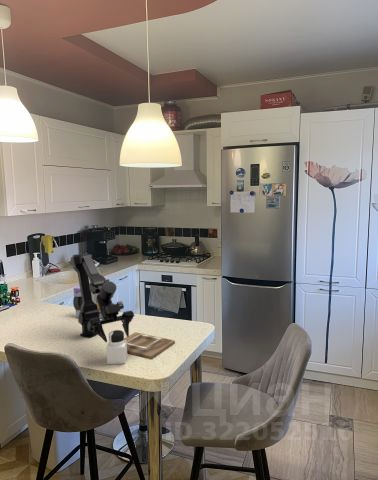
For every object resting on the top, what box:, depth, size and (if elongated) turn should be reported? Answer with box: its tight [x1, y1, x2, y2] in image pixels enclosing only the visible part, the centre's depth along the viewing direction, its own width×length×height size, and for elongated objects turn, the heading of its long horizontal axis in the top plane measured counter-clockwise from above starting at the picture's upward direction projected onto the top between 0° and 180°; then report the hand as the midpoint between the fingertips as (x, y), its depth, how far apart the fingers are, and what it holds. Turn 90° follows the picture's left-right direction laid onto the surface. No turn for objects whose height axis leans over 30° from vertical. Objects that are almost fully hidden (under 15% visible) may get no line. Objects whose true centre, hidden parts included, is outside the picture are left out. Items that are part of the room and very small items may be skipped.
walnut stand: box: [124, 332, 176, 360], centre depth 168 cm, size 22×18×2 cm
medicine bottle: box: [106, 329, 128, 365], centre depth 154 cm, size 7×7×12 cm
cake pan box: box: [72, 284, 103, 320], centre depth 205 cm, size 19×5×18 cm, turn 81°
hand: (117, 339), depth 152 cm, fingers open, 9 cm apart
